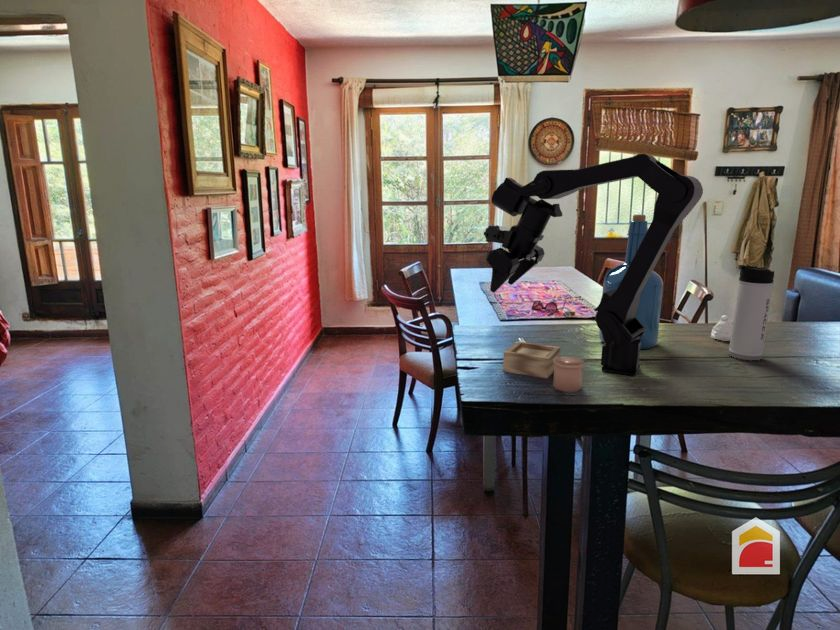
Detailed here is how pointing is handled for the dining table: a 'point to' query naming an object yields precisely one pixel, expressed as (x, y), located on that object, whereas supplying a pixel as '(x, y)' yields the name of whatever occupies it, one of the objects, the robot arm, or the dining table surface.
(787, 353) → the dining table surface
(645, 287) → the blue bottle
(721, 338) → the garlic bulb
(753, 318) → the travel mug
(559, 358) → the terracotta cup
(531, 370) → the oak riser block
